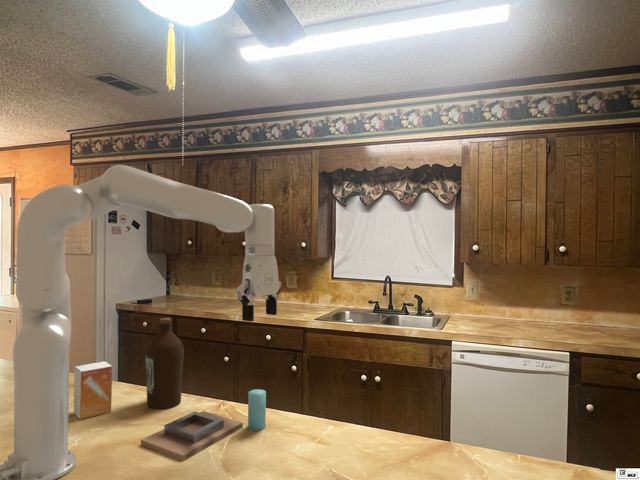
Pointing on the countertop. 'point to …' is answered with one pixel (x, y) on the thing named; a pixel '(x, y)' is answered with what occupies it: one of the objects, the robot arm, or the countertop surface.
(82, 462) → the countertop surface
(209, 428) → the collar board
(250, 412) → the teal peg
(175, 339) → the olive oil
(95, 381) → the small box
